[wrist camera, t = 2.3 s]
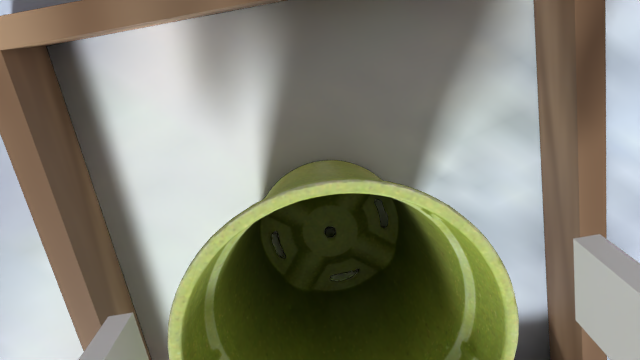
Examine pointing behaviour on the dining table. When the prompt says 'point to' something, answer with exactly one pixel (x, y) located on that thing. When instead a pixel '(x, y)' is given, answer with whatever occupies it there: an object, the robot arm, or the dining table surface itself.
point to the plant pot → (351, 294)
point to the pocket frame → (185, 3)
